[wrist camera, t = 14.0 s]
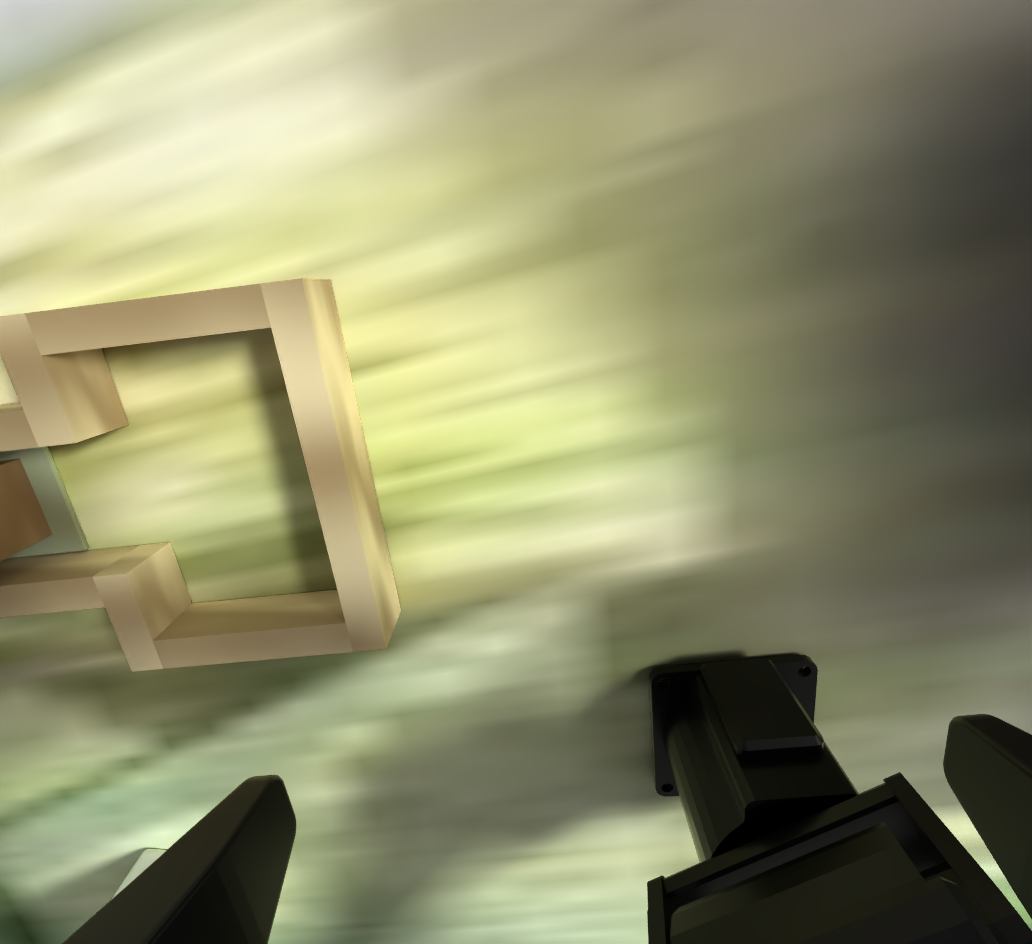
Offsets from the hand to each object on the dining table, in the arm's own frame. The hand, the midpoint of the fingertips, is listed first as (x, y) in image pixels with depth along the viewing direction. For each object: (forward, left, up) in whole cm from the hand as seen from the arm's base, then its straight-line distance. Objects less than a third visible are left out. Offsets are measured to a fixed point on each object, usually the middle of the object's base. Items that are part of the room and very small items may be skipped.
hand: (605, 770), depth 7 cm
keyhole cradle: (+1, +16, -13) cm, 20 cm away
